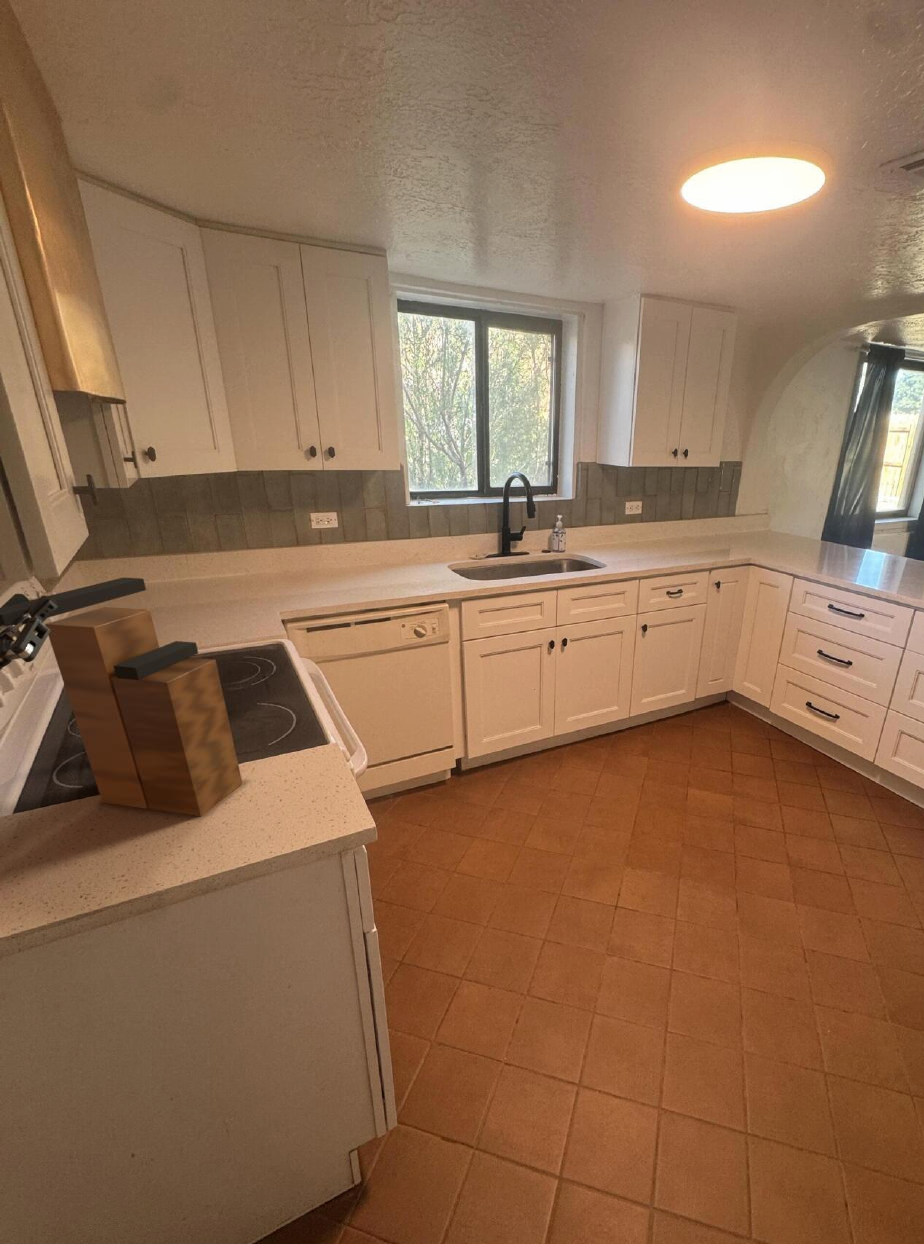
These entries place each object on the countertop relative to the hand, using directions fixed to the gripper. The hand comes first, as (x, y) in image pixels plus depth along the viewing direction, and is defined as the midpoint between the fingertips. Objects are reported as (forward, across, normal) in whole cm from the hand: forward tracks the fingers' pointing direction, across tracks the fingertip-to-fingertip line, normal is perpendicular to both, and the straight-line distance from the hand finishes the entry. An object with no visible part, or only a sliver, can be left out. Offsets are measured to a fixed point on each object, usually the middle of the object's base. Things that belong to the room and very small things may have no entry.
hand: (37, 599), depth 81 cm
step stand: (-11, -5, +36) cm, 38 cm away
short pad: (+1, -8, +16) cm, 18 cm away
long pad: (+3, 0, +4) cm, 5 cm away
